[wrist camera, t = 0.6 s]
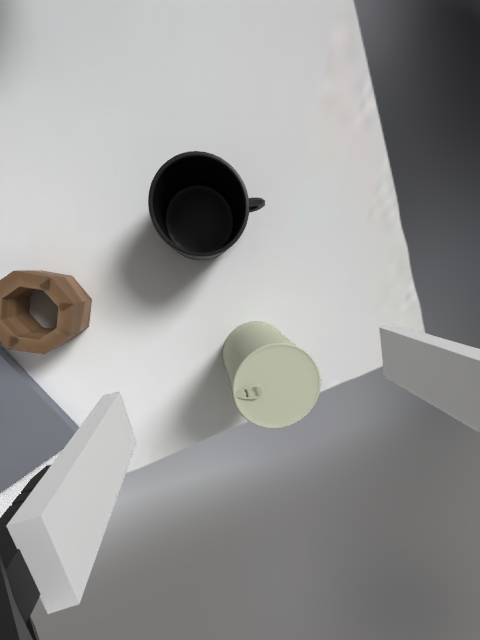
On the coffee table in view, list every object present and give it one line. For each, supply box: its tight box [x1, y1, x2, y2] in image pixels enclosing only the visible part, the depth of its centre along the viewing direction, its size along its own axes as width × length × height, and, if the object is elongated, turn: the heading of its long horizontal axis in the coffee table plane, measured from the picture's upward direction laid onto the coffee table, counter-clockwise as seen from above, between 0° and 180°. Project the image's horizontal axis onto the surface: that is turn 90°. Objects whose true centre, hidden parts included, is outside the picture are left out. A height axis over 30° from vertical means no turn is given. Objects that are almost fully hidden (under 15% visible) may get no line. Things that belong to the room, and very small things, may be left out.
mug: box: [148, 151, 265, 260], centre depth 31 cm, size 9×12×9 cm
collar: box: [0, 271, 92, 354], centre depth 32 cm, size 8×8×5 cm
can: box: [223, 321, 321, 429], centre depth 33 cm, size 9×9×12 cm
